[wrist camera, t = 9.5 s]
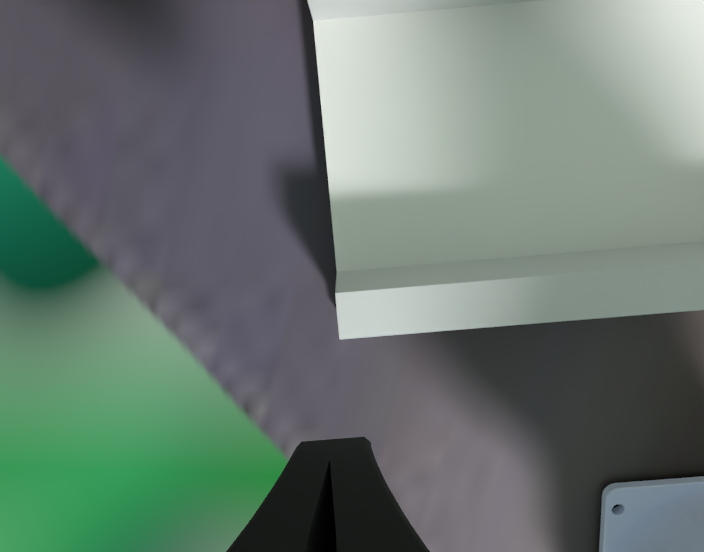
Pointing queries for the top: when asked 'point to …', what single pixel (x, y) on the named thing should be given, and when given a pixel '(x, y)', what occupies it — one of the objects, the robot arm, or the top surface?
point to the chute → (512, 160)
